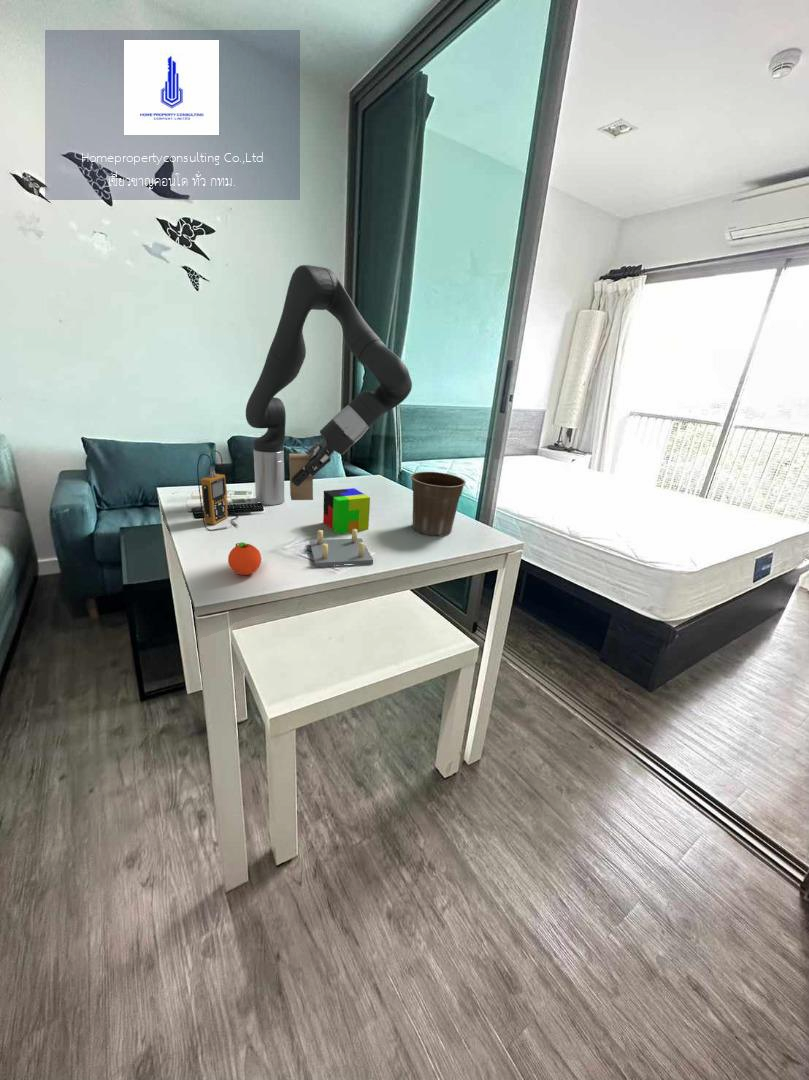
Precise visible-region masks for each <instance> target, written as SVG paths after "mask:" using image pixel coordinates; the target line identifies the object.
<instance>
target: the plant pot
mask: <svg viewBox="0 0 809 1080" xmlns="http://www.w3.org/2000/svg"><path fill="white" fill-rule="evenodd" d="M410 479H411V490H412V523H411V524H412V525H411V526H412V528H413V530H414V531H415V532H417V533H418V534H421V533H423V534H426V535H427V536H430V535H444V536H446V535H445V534H448V535H450V533H452V531H453V526H454V521H455V517H456V513H457V509H458V507H459V505H458V504H459V501H460V497H461V496H462V492H463V489H464V486H465V485H466V483H467V482H466V480H465V479H464V478H462V477H459V476H457V475H454V474H450V473H445V472H436V471H419V472H413V473H412V474H411V475H410Z"/></svg>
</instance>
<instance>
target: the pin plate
mask: <svg viewBox="0 0 809 1080" xmlns="http://www.w3.org/2000/svg"><path fill="white" fill-rule="evenodd" d="M308 541H309V542H308V543H310V545H309V547H310V546H311V549H310V551H311V550H312V552H311V555H312V554H313V556H312V559H314V560H313V563H314V567H315V568H329V567H328V566H333V567H337V566H336V565H344V564H358V565H357V566H363V565H364V566H365V565H367V566H368V565H374V559H373V556H372V555H371V553H370V552H369V550H368V548H367V546H366V544H365V542H364V540H363V539H362V538H358V531H357V529H352V532H351V538H334V539H324V530H322V529H317V539H311V540H308ZM334 565H335V566H334Z"/></svg>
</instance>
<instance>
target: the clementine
mask: <svg viewBox="0 0 809 1080" xmlns="http://www.w3.org/2000/svg"><path fill="white" fill-rule="evenodd" d="M227 560H228V566H229V568H230V569H231V571H233V572H234V573H235V574H238V575H242V576H247V575H252V574H254V573H255V572H256V571H257V570H258V569H259V568H260V566H261V563H262V555H261V552H260V550H259V549H258V548H256V546H254V545H253V544H250V543H246V542H237V543H236V544H235V546H234V547H233V548H232V549H231V550H230V551H229V554H228V557H227Z"/></svg>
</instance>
